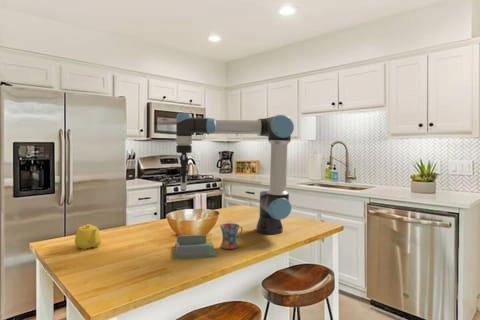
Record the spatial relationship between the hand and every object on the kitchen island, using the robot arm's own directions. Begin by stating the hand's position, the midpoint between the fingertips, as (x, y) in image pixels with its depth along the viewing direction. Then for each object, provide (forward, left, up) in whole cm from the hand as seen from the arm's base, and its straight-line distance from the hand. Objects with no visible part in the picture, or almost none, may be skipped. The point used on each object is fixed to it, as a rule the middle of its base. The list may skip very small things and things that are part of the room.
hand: (183, 187), depth 161 cm
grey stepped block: (-5, +14, -28) cm, 31 cm away
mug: (-23, +11, -28) cm, 38 cm away
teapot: (+44, +1, -28) cm, 52 cm away
